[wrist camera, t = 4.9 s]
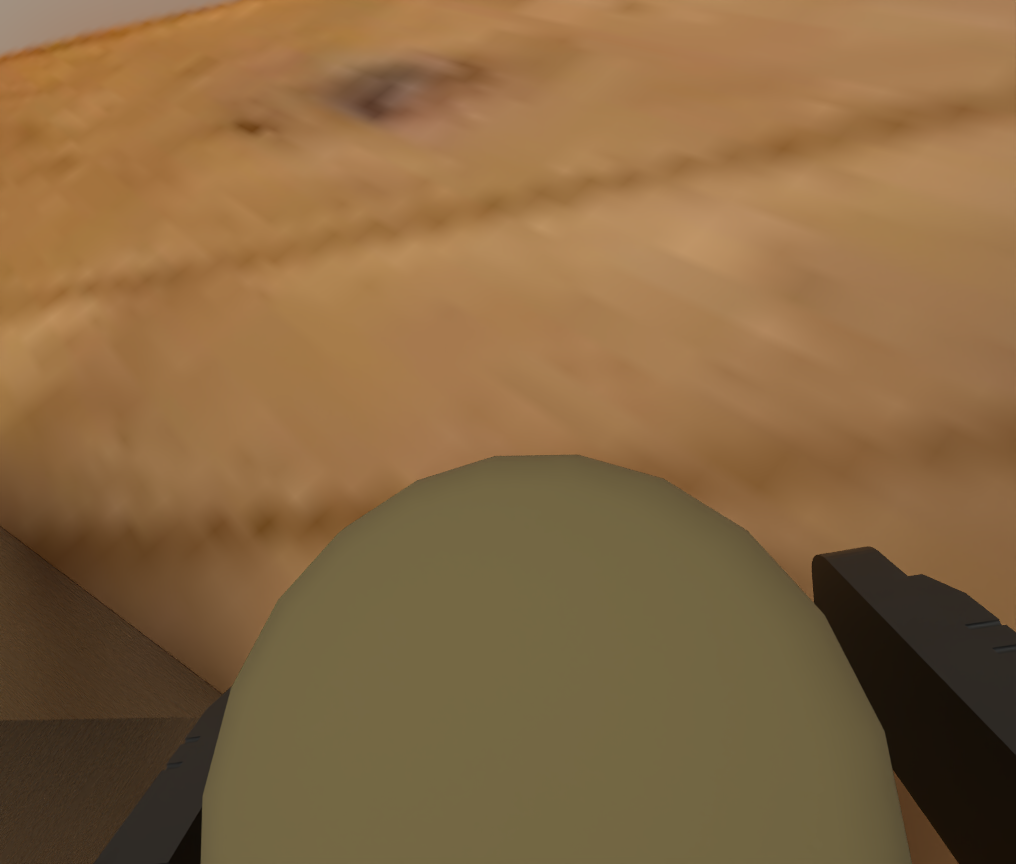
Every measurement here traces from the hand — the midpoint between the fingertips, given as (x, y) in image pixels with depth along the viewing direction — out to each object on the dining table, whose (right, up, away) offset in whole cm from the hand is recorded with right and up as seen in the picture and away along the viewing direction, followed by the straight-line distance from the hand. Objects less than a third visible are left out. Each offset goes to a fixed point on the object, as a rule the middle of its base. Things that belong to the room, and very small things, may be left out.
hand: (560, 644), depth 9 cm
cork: (+1, -4, +4) cm, 6 cm away
